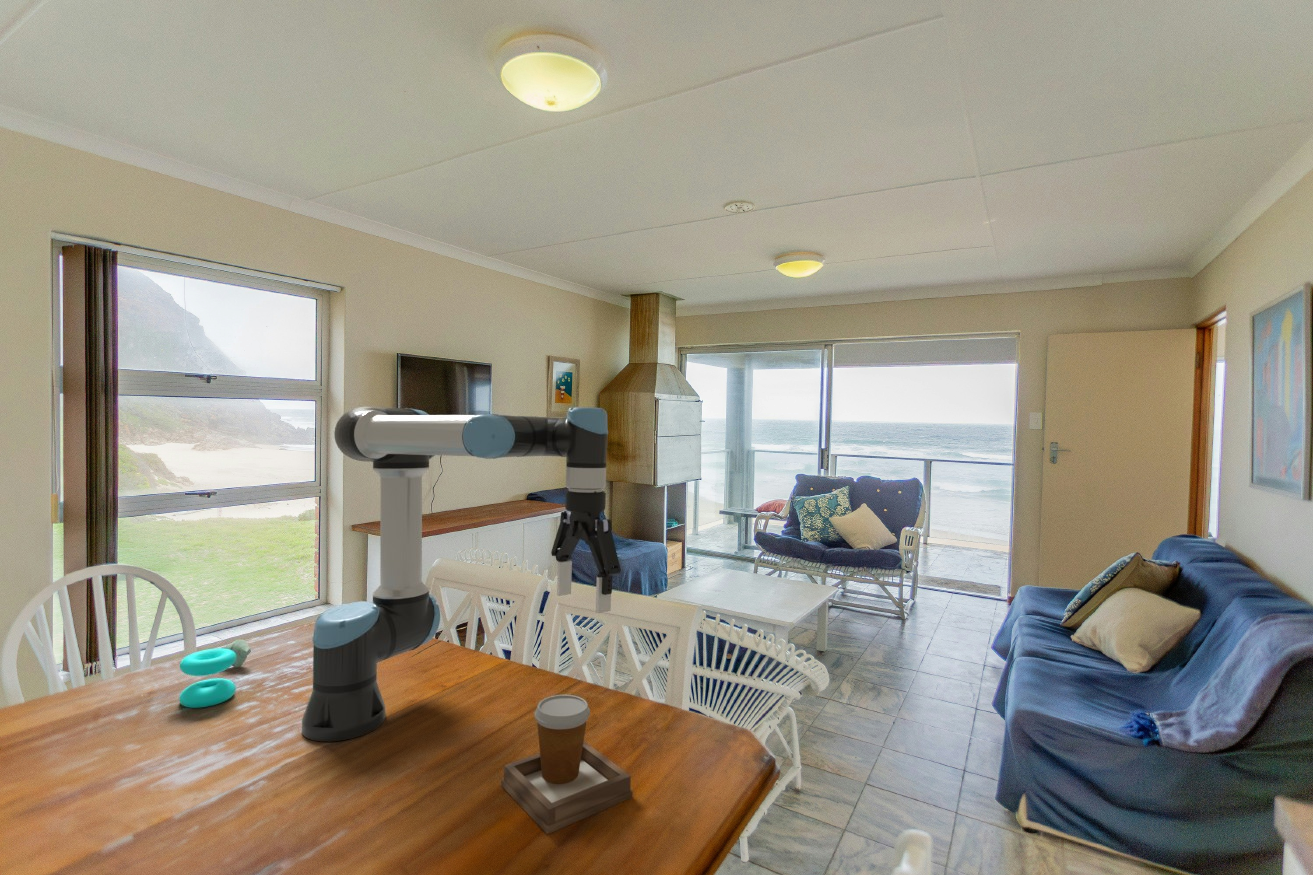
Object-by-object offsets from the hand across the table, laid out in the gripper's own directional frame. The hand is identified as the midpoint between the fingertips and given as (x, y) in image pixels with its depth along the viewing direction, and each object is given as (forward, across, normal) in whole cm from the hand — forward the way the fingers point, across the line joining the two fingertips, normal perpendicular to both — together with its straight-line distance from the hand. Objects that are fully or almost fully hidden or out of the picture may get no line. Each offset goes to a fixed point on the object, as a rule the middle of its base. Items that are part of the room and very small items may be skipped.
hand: (582, 602), depth 117 cm
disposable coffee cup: (+27, -6, +8) cm, 29 cm away
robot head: (+29, +85, +46) cm, 101 cm away
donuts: (+29, +67, +53) cm, 90 cm away
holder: (+28, -9, +8) cm, 31 cm away
